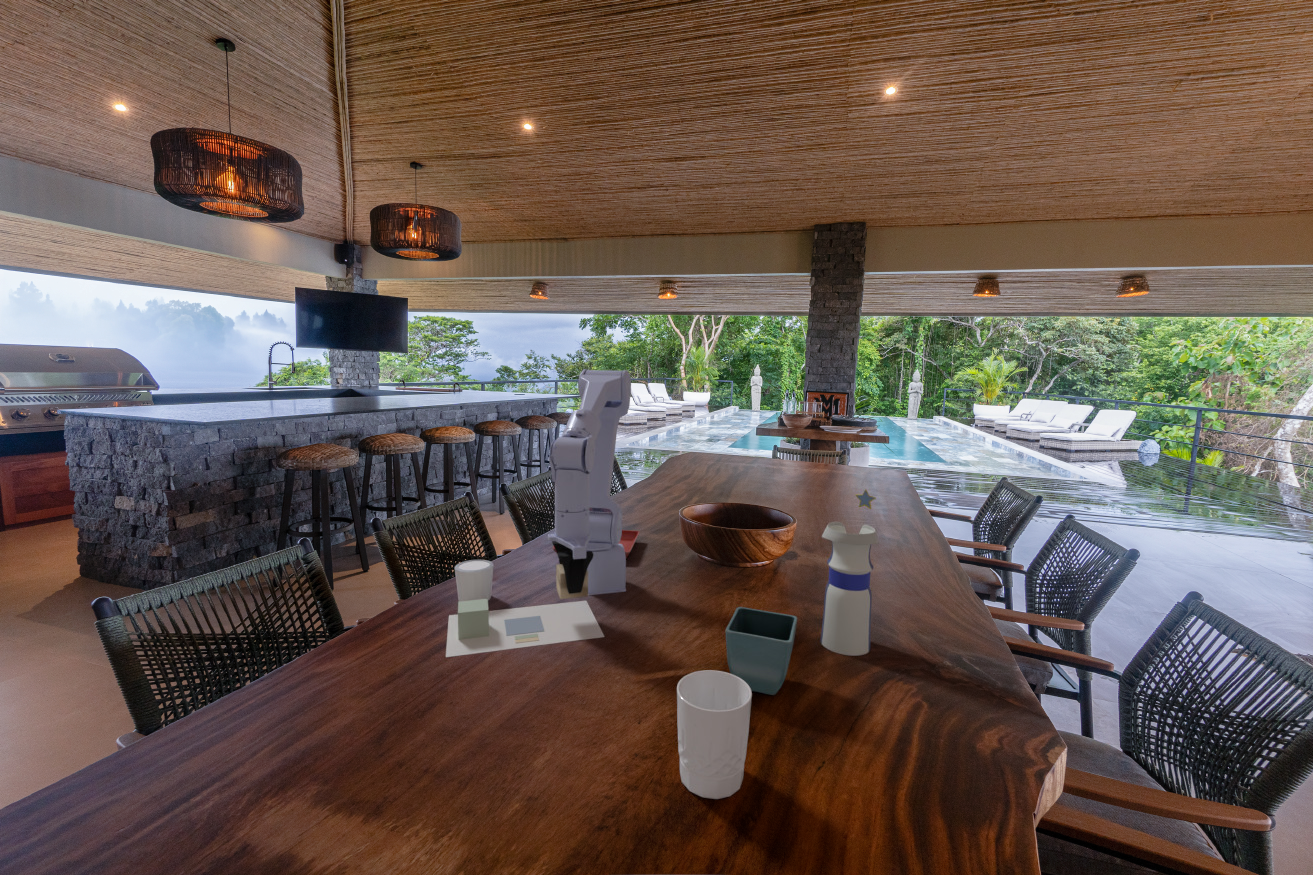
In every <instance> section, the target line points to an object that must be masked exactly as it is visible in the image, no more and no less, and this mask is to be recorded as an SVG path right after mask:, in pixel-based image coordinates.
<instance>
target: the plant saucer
mask: <svg viewBox="0 0 1313 875" xmlns="http://www.w3.org/2000/svg"><path fill="white" fill-rule="evenodd" d="M640 534H641V531H639V530H632V529H631V530H630V529H629V530H628V529H627V530H626V529H622V535H621V539H620V542H619V543H618V544H622V545H623V547H624V550H625V556H626V558H628V556H629V555H630V553H631V552H632V549H633V547H634V545H635V543H636V541H637V539H638V536H639V535H640ZM552 550H553V552H555V553H556V554H557V552H556V549H555V547H554V545H552Z"/></svg>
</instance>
